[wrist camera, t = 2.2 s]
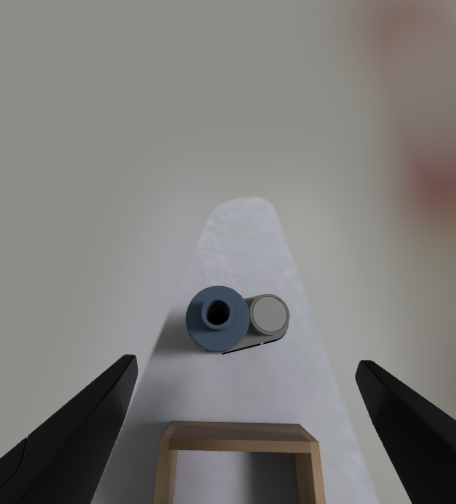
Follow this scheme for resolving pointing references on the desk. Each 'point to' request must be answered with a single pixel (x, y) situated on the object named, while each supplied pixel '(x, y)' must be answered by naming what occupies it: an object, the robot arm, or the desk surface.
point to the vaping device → (235, 320)
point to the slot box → (241, 439)
